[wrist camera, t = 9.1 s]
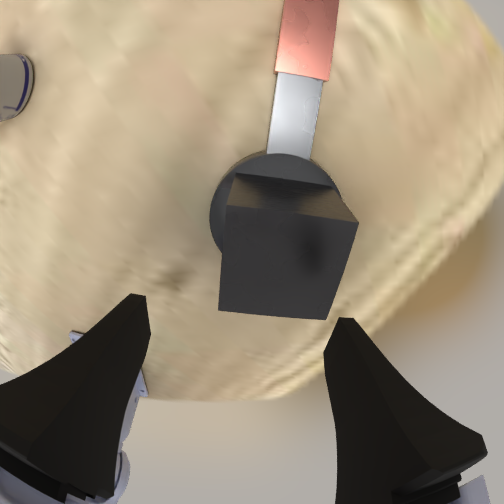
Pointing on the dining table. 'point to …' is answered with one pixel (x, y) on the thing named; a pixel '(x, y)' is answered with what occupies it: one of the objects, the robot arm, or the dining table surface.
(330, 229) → the dark grey brushed cube
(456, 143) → the dining table surface
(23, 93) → the energy drink
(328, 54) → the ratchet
